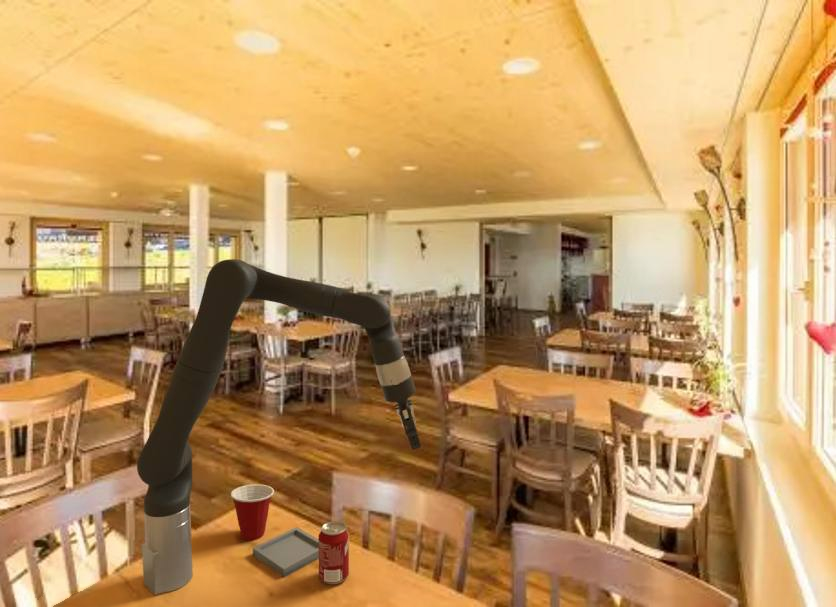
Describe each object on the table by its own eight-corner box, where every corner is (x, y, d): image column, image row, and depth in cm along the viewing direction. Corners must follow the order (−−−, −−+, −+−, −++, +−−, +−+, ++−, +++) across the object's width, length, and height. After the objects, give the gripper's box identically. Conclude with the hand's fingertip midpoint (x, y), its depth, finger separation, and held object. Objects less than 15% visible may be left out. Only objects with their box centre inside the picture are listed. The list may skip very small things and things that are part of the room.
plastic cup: (283, 531, 137) (282, 487, 136) (251, 550, 128) (249, 504, 127) (256, 519, 143) (255, 478, 142) (222, 537, 134) (221, 493, 133)
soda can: (342, 588, 114) (342, 537, 113) (314, 584, 115) (313, 533, 114) (352, 570, 120) (352, 521, 119) (325, 566, 122) (325, 518, 121)
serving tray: (284, 577, 118) (284, 569, 117) (252, 555, 126) (252, 547, 126) (328, 552, 127) (328, 545, 127) (296, 534, 136) (296, 526, 136)
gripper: (378, 374, 126) (397, 434, 129) (380, 391, 112) (401, 458, 115) (408, 365, 127) (426, 424, 129) (413, 381, 113) (433, 448, 115)
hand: (414, 440), depth 122 cm, fingers open, 8 cm apart
